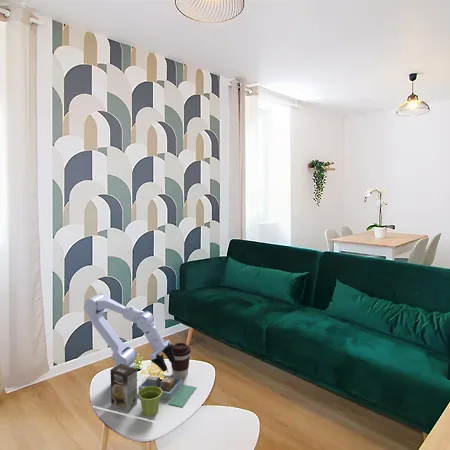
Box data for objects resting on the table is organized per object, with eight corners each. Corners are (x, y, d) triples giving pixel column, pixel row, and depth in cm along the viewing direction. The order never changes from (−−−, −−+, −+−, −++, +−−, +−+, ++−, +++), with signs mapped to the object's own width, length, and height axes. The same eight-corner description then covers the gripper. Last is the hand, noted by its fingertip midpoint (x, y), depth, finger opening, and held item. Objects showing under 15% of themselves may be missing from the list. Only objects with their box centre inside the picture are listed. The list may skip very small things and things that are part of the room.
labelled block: (160, 392, 164) (160, 381, 164) (165, 386, 168) (165, 376, 168) (170, 394, 163) (170, 383, 162) (174, 388, 167) (174, 377, 166)
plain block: (146, 389, 166) (146, 378, 166) (151, 383, 171) (151, 373, 170) (155, 390, 165) (155, 380, 164) (160, 385, 169) (160, 375, 169)
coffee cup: (188, 381, 174) (188, 351, 172) (167, 380, 175) (167, 350, 172) (192, 370, 184) (192, 341, 182) (172, 369, 184) (172, 340, 182)
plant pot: (151, 402, 158) (151, 383, 157) (167, 411, 152) (166, 391, 151) (133, 413, 151) (133, 393, 149) (148, 423, 145) (148, 402, 143)
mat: (168, 405, 156) (168, 403, 156) (183, 386, 170) (183, 384, 170) (182, 408, 154) (182, 406, 154) (196, 388, 168) (196, 387, 168)
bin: (138, 393, 163) (138, 386, 163) (152, 379, 175) (152, 372, 174) (170, 401, 159) (170, 393, 158) (182, 385, 170) (182, 378, 170)
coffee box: (110, 406, 155) (109, 369, 153) (121, 398, 160) (120, 362, 158) (127, 412, 151) (126, 375, 148) (138, 404, 156) (137, 368, 154)
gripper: (153, 342, 156) (169, 371, 155) (169, 328, 169) (183, 355, 169) (141, 348, 158) (156, 377, 158) (157, 334, 172) (171, 360, 171)
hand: (169, 366), depth 163 cm, fingers open, 7 cm apart
